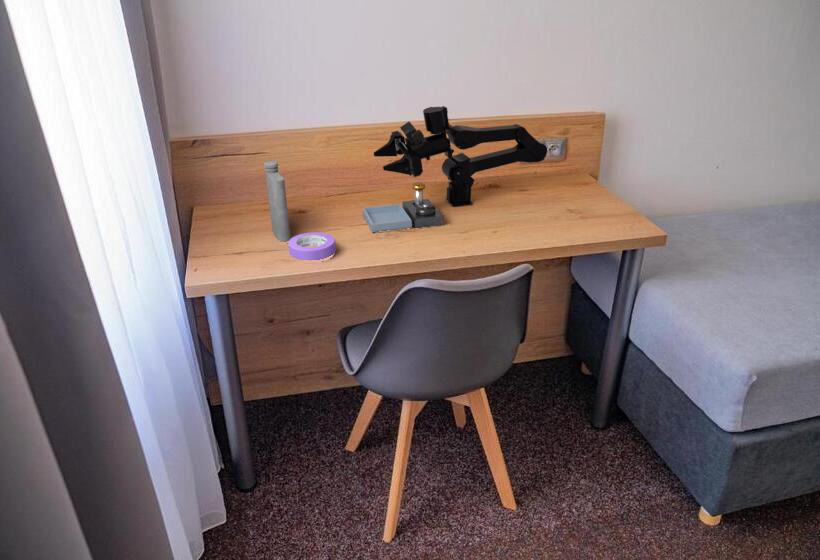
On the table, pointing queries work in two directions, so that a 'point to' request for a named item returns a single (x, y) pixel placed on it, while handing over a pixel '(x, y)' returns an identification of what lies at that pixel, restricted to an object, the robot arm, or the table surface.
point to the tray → (387, 218)
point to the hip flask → (277, 201)
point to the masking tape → (309, 239)
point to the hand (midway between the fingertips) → (378, 161)
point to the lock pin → (418, 192)
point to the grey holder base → (423, 214)
